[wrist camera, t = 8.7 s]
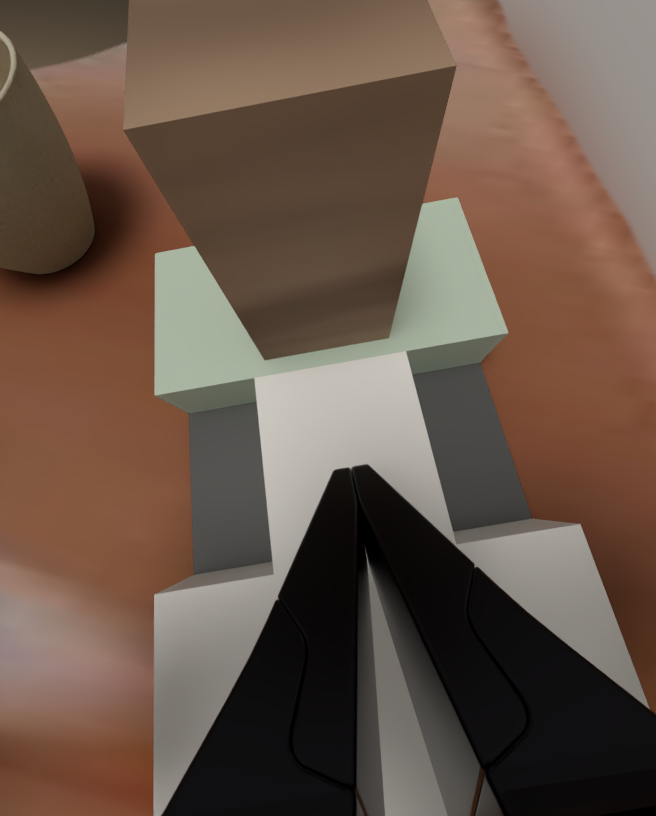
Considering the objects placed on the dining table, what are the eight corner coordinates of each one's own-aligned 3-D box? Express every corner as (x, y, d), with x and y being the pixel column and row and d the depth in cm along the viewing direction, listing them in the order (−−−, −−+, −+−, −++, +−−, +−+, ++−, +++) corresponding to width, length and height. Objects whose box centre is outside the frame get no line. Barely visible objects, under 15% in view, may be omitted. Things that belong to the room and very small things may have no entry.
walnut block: (389, 338, 12) (456, 65, 4) (264, 360, 12) (123, 130, 5) (364, 238, 14) (383, -97, 6) (253, 259, 14) (130, -46, 6)
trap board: (597, 728, 11) (688, 812, 8) (204, 789, 11) (153, 892, 8) (438, 248, 17) (457, 197, 14) (187, 294, 17) (155, 253, 14)
